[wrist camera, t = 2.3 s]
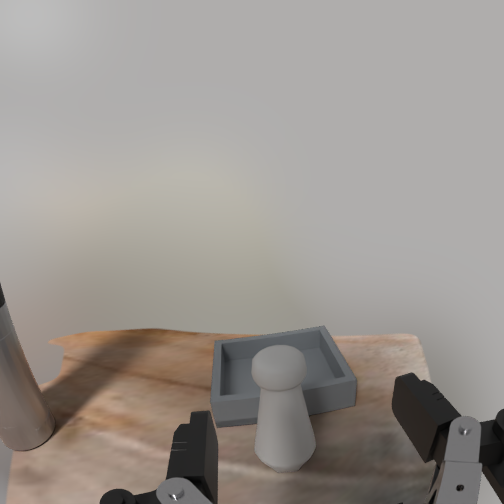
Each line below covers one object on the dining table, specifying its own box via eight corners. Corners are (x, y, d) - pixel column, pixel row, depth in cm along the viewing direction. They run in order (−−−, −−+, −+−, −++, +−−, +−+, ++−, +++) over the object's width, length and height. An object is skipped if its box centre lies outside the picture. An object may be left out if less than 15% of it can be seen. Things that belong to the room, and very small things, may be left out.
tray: (216, 427, 32) (210, 402, 32) (219, 363, 46) (214, 340, 45) (354, 405, 33) (356, 379, 32) (324, 348, 47) (324, 325, 46)
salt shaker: (250, 476, 25) (229, 373, 22) (263, 437, 30) (249, 335, 27) (312, 481, 23) (311, 376, 20) (318, 439, 29) (318, 335, 26)
